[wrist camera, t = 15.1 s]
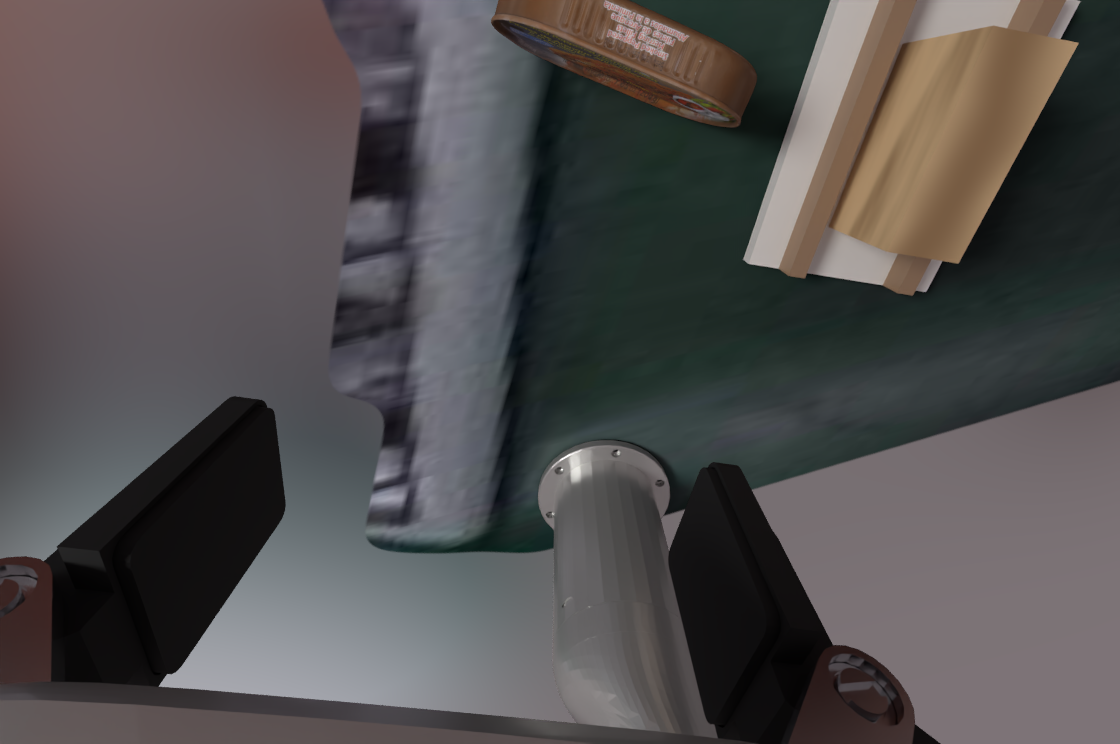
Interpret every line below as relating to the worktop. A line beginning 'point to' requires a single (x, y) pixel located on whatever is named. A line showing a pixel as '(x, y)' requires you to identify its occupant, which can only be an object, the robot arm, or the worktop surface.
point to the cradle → (861, 130)
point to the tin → (634, 54)
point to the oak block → (947, 138)
